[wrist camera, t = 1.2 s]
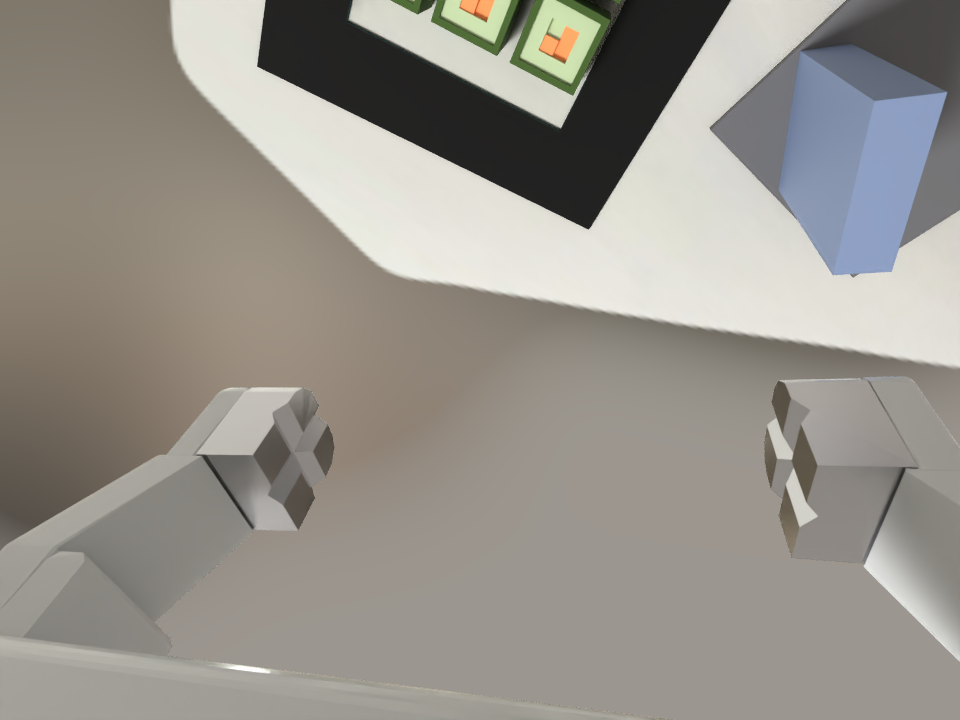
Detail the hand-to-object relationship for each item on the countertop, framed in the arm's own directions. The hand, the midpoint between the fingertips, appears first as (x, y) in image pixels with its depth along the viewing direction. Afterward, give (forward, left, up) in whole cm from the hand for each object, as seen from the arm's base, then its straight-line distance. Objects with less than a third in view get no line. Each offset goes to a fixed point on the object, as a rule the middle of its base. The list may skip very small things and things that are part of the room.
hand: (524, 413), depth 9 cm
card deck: (-6, +13, -31) cm, 34 cm away
